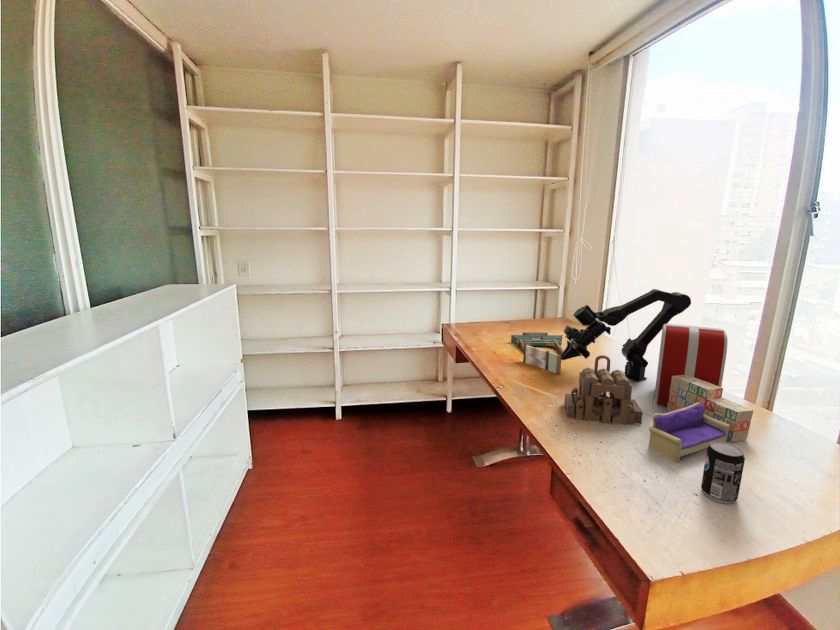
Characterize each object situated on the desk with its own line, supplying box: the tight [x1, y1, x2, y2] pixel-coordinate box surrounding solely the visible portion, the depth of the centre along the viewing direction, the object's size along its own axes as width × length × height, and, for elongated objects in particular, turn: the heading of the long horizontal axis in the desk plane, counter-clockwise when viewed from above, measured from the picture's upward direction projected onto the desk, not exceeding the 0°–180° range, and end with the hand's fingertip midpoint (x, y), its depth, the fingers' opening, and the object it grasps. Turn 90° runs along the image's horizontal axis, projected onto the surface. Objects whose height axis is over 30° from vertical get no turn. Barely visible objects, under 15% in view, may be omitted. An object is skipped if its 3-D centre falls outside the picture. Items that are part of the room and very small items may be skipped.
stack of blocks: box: [666, 375, 754, 443], centre depth 118 cm, size 21×6×12 cm, turn 15°
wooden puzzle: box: [564, 354, 644, 426], centre depth 126 cm, size 22×15×19 cm, turn 75°
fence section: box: [522, 345, 551, 371], centre depth 171 cm, size 14×2×8 cm, turn 35°
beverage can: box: [700, 441, 746, 505], centre depth 87 cm, size 7×7×12 cm
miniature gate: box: [510, 331, 564, 355], centre depth 200 cm, size 27×6×30 cm
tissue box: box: [653, 323, 728, 408], centre depth 133 cm, size 16×18×27 cm
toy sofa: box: [648, 402, 731, 464], centre depth 107 cm, size 21×9×10 cm, turn 111°
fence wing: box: [547, 351, 562, 376], centre depth 162 cm, size 6×2×8 cm, turn 25°
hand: (561, 358), depth 160 cm, fingers closed
